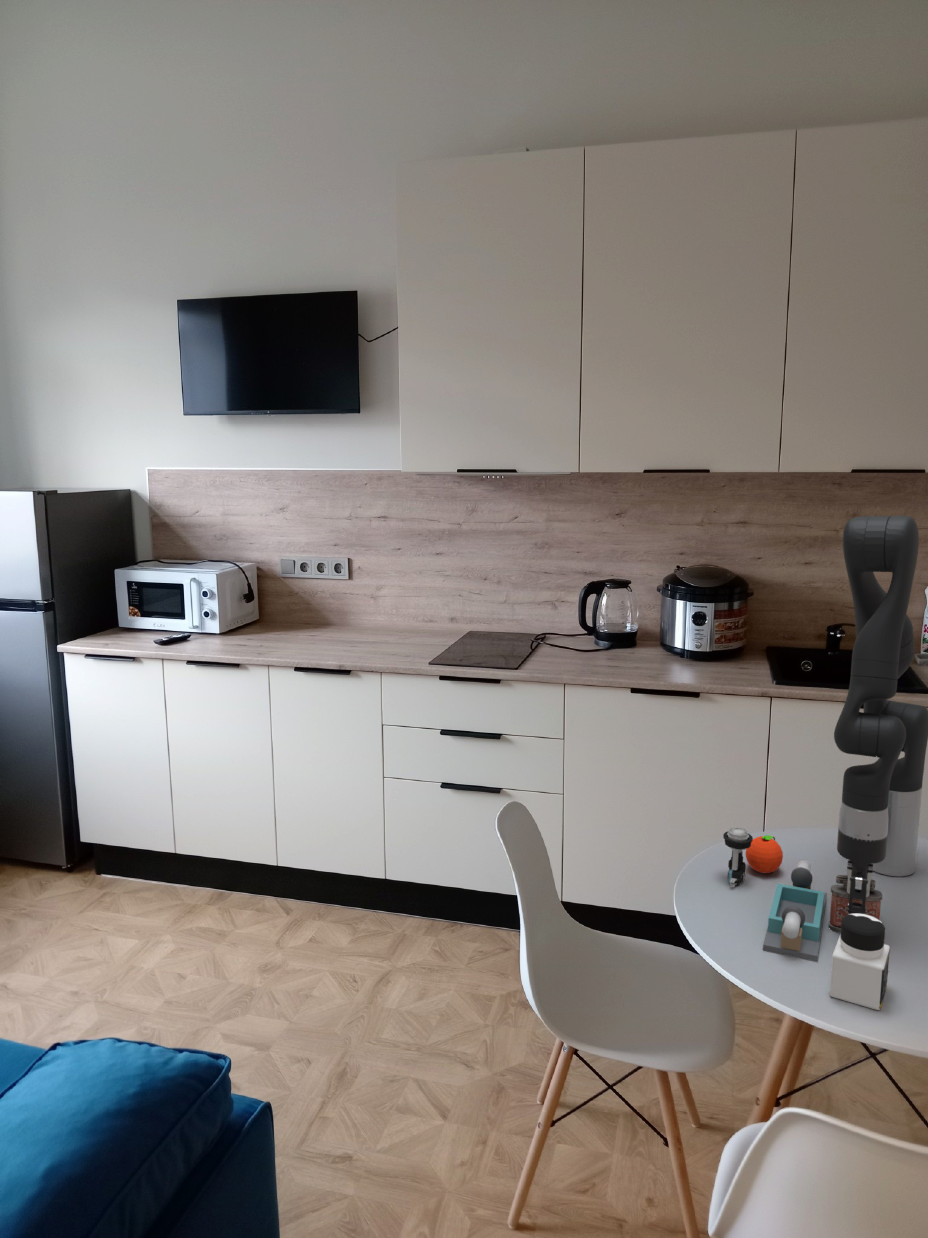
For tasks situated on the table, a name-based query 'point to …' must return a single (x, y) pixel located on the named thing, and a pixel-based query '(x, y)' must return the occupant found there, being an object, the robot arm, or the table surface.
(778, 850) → the clementine
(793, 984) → the table surface
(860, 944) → the medicine bottle
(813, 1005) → the table surface
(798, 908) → the shaft cradle
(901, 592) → the robot arm
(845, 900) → the lighter
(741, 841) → the push button
